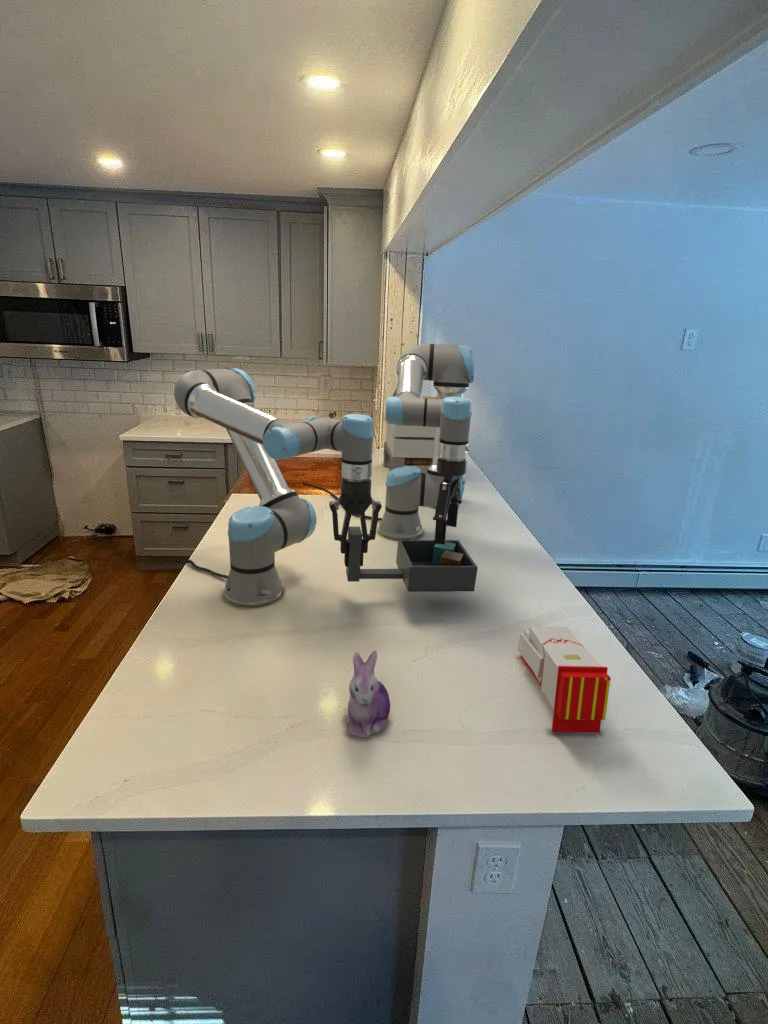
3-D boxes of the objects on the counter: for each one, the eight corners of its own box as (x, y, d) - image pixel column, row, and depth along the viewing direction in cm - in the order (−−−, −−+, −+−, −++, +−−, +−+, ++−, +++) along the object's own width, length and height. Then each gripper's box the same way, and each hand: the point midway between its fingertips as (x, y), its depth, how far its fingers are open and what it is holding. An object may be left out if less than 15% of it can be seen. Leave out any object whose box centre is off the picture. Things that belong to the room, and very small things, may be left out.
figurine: (356, 747, 102) (359, 677, 97) (334, 712, 111) (335, 646, 105) (402, 731, 106) (406, 663, 101) (377, 699, 115) (380, 635, 110)
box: (349, 592, 141) (352, 544, 137) (344, 562, 157) (346, 518, 153) (474, 591, 146) (480, 545, 142) (456, 562, 163) (461, 520, 158)
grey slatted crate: (382, 463, 289) (386, 382, 275) (445, 464, 293) (451, 384, 279) (390, 482, 257) (394, 392, 243) (460, 483, 261) (468, 394, 247)
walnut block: (437, 581, 149) (440, 557, 146) (442, 573, 153) (445, 550, 151) (456, 585, 147) (459, 560, 145) (460, 577, 152) (463, 553, 149)
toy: (564, 611, 133) (619, 673, 103) (558, 664, 135) (611, 739, 106) (512, 610, 132) (554, 672, 103) (508, 663, 135) (547, 738, 106)
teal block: (431, 570, 155) (433, 546, 153) (435, 563, 159) (438, 540, 157) (449, 573, 154) (452, 550, 151) (452, 566, 158) (455, 543, 156)
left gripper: (324, 482, 136) (323, 571, 144) (391, 482, 138) (386, 569, 146) (322, 473, 143) (321, 558, 151) (386, 473, 145) (382, 557, 153)
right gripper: (455, 472, 134) (448, 554, 141) (475, 449, 156) (468, 521, 164) (425, 468, 136) (419, 548, 144) (449, 446, 159) (443, 517, 166)
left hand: (353, 563), depth 148 cm, fingers closed on box, 3 cm apart
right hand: (445, 534), depth 154 cm, fingers open, 13 cm apart
